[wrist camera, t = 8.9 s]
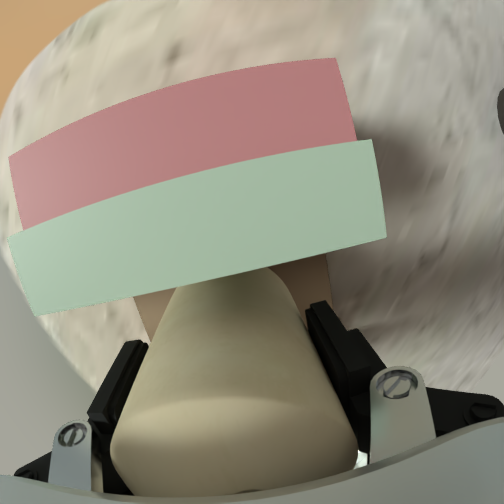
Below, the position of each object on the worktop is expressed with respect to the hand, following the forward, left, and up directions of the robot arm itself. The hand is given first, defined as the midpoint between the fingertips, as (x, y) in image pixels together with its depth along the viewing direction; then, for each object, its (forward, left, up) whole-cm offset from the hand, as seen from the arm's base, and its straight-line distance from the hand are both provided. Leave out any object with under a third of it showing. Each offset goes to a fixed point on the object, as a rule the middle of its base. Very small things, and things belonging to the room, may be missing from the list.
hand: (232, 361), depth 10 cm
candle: (0, 0, -4) cm, 4 cm away
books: (+6, 0, -5) cm, 8 cm away
